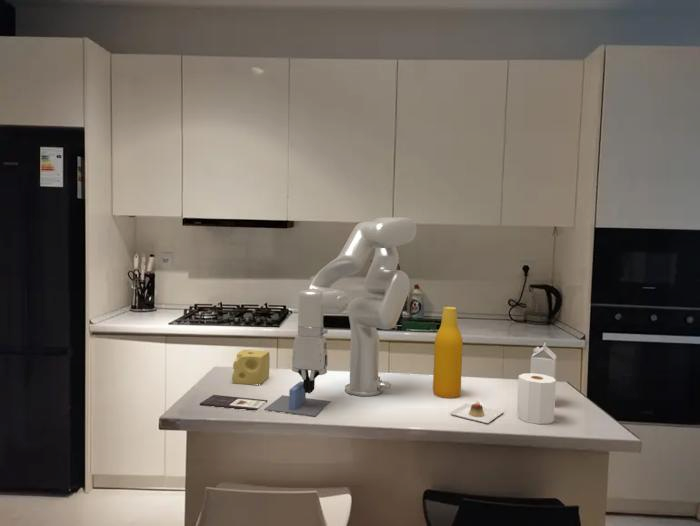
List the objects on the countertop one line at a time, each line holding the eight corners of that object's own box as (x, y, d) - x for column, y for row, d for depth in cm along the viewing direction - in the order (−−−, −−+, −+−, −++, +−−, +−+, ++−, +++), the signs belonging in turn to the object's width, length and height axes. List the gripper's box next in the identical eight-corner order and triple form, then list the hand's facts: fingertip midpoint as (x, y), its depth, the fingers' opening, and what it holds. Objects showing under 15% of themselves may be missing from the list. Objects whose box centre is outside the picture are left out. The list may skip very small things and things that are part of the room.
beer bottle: (452, 389, 183) (455, 305, 181) (466, 397, 174) (469, 309, 173) (427, 391, 180) (430, 306, 178) (440, 399, 171) (444, 310, 170)
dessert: (487, 426, 150) (488, 410, 150) (449, 417, 157) (449, 401, 157) (503, 415, 160) (504, 400, 159) (466, 406, 167) (466, 391, 166)
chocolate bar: (213, 394, 169) (267, 400, 165) (213, 397, 169) (267, 403, 165) (199, 403, 160) (255, 409, 156) (199, 406, 160) (255, 412, 156)
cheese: (231, 383, 183) (232, 355, 182) (243, 375, 193) (243, 348, 193) (260, 386, 181) (261, 357, 181) (270, 377, 192) (271, 350, 191)
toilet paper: (550, 413, 161) (552, 374, 160) (556, 426, 151) (558, 383, 150) (515, 410, 163) (517, 371, 162) (518, 422, 153) (520, 380, 152)
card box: (294, 410, 157) (295, 390, 156) (288, 409, 157) (289, 389, 157) (305, 400, 165) (305, 381, 165) (299, 400, 166) (300, 381, 165)
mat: (330, 402, 166) (330, 400, 166) (315, 416, 153) (315, 415, 153) (282, 396, 170) (282, 395, 170) (263, 410, 157) (263, 409, 157)
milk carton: (554, 401, 173) (557, 343, 172) (552, 407, 167) (555, 347, 165) (531, 397, 176) (533, 340, 175) (528, 403, 170) (531, 344, 168)
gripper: (337, 331, 161) (336, 391, 162) (291, 327, 165) (290, 386, 166) (330, 335, 154) (328, 398, 155) (282, 331, 157) (280, 393, 158)
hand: (308, 391), depth 160 cm, fingers closed
